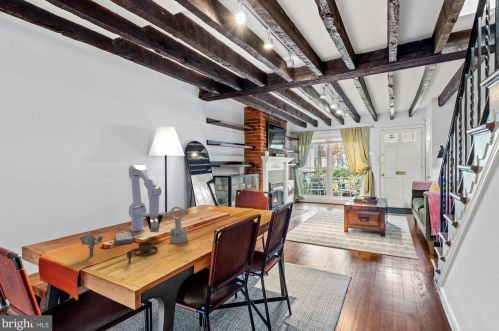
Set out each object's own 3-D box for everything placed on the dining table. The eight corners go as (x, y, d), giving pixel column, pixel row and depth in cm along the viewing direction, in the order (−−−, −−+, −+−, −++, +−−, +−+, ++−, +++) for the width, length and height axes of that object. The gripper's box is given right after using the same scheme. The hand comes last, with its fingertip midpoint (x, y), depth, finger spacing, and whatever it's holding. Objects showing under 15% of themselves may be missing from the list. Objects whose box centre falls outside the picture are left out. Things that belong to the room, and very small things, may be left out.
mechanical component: (99, 257, 124) (99, 237, 124) (79, 257, 125) (79, 237, 124) (103, 255, 127) (103, 235, 127) (83, 254, 128) (83, 235, 127)
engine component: (183, 243, 147) (189, 238, 157) (184, 208, 147) (189, 205, 157) (165, 242, 148) (172, 237, 158) (166, 207, 148) (172, 204, 158)
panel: (115, 237, 155) (115, 233, 155) (131, 235, 159) (131, 231, 159) (115, 244, 142) (115, 240, 142) (132, 242, 147) (132, 238, 147)
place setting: (165, 253, 133) (166, 242, 133) (128, 266, 117) (129, 253, 116) (146, 246, 143) (146, 235, 143) (110, 257, 127) (110, 245, 127)
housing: (149, 229, 161) (149, 218, 161) (156, 228, 163) (156, 218, 163) (150, 232, 154) (151, 221, 154) (158, 231, 156) (158, 221, 156)
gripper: (142, 208, 151) (142, 230, 152) (167, 206, 158) (167, 228, 159) (141, 206, 157) (140, 227, 158) (165, 204, 164) (165, 225, 165)
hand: (153, 227), depth 159 cm, fingers closed on housing, 4 cm apart
